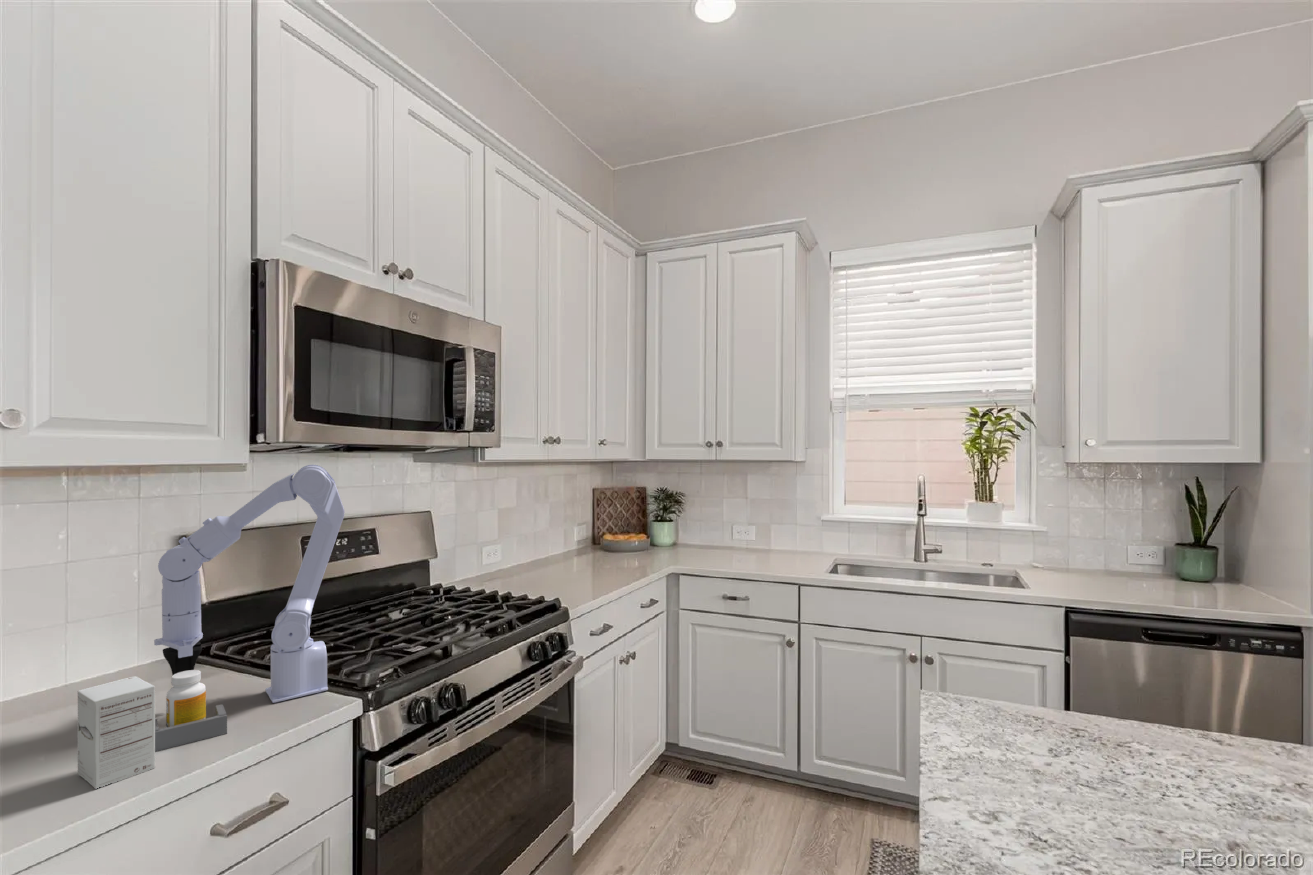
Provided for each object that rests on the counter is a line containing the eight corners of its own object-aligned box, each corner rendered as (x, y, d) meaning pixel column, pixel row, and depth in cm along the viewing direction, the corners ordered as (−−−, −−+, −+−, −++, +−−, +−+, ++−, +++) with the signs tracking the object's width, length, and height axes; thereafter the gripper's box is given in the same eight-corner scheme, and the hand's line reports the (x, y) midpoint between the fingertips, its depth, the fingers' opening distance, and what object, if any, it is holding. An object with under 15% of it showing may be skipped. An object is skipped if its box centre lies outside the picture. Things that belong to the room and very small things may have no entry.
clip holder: (222, 721, 112) (222, 704, 112) (227, 733, 107) (227, 715, 107) (149, 738, 105) (149, 720, 105) (151, 752, 101) (150, 733, 101)
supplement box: (75, 776, 94) (75, 689, 94) (138, 755, 100) (137, 674, 100) (93, 791, 90) (92, 701, 90) (156, 768, 96) (156, 684, 96)
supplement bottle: (214, 725, 110) (213, 669, 110) (184, 740, 105) (184, 681, 105) (188, 723, 111) (188, 667, 111) (158, 737, 106) (157, 678, 106)
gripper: (152, 607, 120) (153, 680, 120) (155, 625, 109) (157, 705, 109) (198, 601, 124) (199, 671, 124) (206, 617, 113) (207, 694, 113)
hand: (182, 686), depth 117 cm, fingers closed
